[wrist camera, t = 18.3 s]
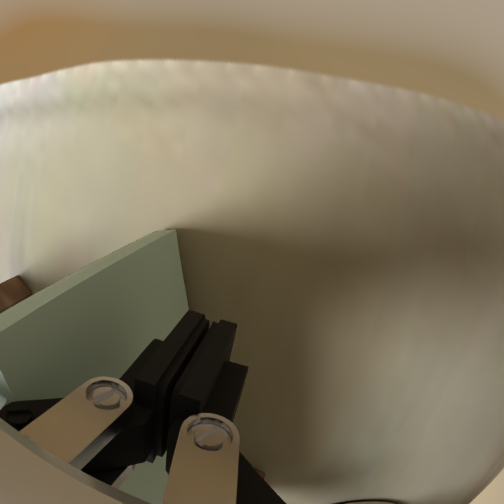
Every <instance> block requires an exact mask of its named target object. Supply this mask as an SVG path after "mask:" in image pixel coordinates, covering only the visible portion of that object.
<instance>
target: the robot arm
mask: <svg viewBox="0 0 504 504" xmlns="http://www.w3.org/2000/svg"><path fill="white" fill-rule="evenodd" d="M209 322H210V321H209V320H206V319H205V315H204V314H200V313H197V312H194V311H190V310H188V311H187V312H186V314H185V315H184V316H183V317H182V319H181V320H180V321H179V322H178V324H177V325H176V326H175V327H174V328H173V330H172V331H171V332H170V333H169V335H168V336H167V337H166V338H165V340H164V341H162V340H159V339H154V340H152V341H151V343H150V344H149V345H148V346H147V347H146V348H145V349H144V351H143V352H142V353H141V354H140V355H139V356H138V358H137V359H136V360H135V361H134V362H133V364H132V365H131V366H130V367H129V368H128V369H127V371H126V372H125V373H124V374H123V375H122V376H121V378H120V379H116V378H113V377H96V378H92V379H90V380H88V381H86V382H85V383H84V384H82V385H81V386H80V387H78V388H77V389H76V390H74V391H73V392H72V393H70V394H69V395H68V396H66V397H64V398H53V399H40V400H24V401H15V402H11V403H9V400H8V398H6V397H3V396H1V395H0V504H152V503H149V502H146V501H144V500H142V499H139V498H137V497H134V496H132V495H130V494H127V493H125V492H123V491H121V490H118V488H119V487H120V486H121V485H122V484H123V482H124V481H125V480H126V479H127V478H128V477H129V476H130V474H131V473H132V472H133V470H134V469H135V466H136V464H139V463H144V462H145V461H148V462H150V463H153V462H154V460H155V458H156V456H160V457H163V456H164V454H165V452H166V469H165V470H166V472H167V474H168V475H169V476H168V480H167V484H166V488H165V492H164V497H163V501H162V504H286V503H285V502H284V501H283V500H282V499H281V498H280V497H279V496H278V495H277V493H276V492H275V491H274V490H273V489H272V488H271V487H270V486H269V485H268V484H267V483H266V482H265V480H264V479H263V478H262V477H261V476H260V475H259V474H258V473H257V471H256V470H255V469H254V468H253V467H252V466H251V464H250V463H249V462H248V461H247V460H246V459H245V457H244V456H243V455H242V454H241V453H240V451H239V444H240V436H239V431H238V430H237V428H236V426H235V425H234V424H233V423H232V422H233V419H234V416H235V413H236V409H237V406H238V403H239V400H240V396H241V393H242V389H243V386H244V382H245V378H246V375H247V371H248V367H247V366H244V365H240V364H236V363H233V362H229V359H230V355H231V350H232V346H233V341H234V337H235V332H236V328H237V324H236V323H232V322H228V321H225V320H220V322H219V323H216V322H213V323H212V325H211V327H210V328H209ZM208 329H209V330H208ZM166 450H167V451H166ZM345 504H395V503H389V502H379V501H364V502H353V503H345Z"/></svg>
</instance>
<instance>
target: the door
mask: <svg viewBox="0 0 504 504" xmlns="http://www.w3.org/2000/svg"><path fill="white" fill-rule="evenodd" d="M188 310H189V306H188V301H187V295H186V290H185V284H184V278H183V272H182V266H181V260H180V254H179V247H178V241H177V234H176V229H174V230H163V231H155V232H153V233H151V234H149V235H147V236H145V237H142V238H140V239H138V240H136V241H134V242H132V243H130V244H128V245H126V246H124V247H122V248H120V249H118V250H116V251H114V252H112V253H110V254H108V255H106V256H104V257H102V258H101V259H99V260H97V261H95V262H93V263H91V264H89V265H87V266H85V267H83V268H81V269H79V270H78V271H76V272H74V273H72V274H70V275H68V276H66V277H64V278H63V279H61V280H59V281H57V282H55V283H53V284H52V285H50V286H48V287H46V288H44V289H42V290H41V291H39V292H37V293H35V294H34V295H32V296H30V297H28V298H26V299H25V300H23V301H21V302H19V303H18V304H16V305H14V306H13V307H11V308H9V309H7V310H6V311H4V312H2V313H1V314H0V395H1V396H3V397H6V398H8V400H9V403H11V402H15V401H24V400H40V399H53V398H64V397H66V396H68V395H69V394H70V393H72V392H73V391H74V390H76V389H77V388H78V387H80V386H81V385H82V384H84V383H85V382H86V381H88V380H90V379H92V378H96V377H113V378H116V379H120V378H121V376H122V375H123V374H124V373H125V372H126V371H127V369H128V368H129V367H130V366H131V365H132V364H133V362H134V361H135V360H136V359H137V358H138V356H139V355H140V354H141V353H142V352H143V351H144V349H145V348H146V347H147V346H148V345H149V344H150V343H151V341H152V340H154V339H159V340H162V341H164V340H165V338H166V337H167V336H168V335H169V333H170V332H171V331H172V330H173V328H174V327H175V326H176V325H177V324H178V322H179V321H180V320H181V319H182V317H183V316H184V315H185V314H186V312H187V311H188ZM166 451H167V450H166ZM165 469H166V452H165V454H164V456H163V457H160V456H156V458H155V460H154V462H153V463H150V462H148V461H145V462H144V463H139V464H136V466H135V469H134V470H133V472H132V473H131V474H130V476H129V477H128V478H127V479H126V480H125V481H124V482H123V484H122V485H121V486H120V487H119V488H118V490H121V491H123V492H125V493H127V494H130V495H132V496H134V497H137V498H139V499H142V500H144V501H146V502H149V503H152V504H162V501H163V497H164V492H165V488H166V484H167V480H168V476H169V475H168V474H167V472H166V470H165Z"/></svg>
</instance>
